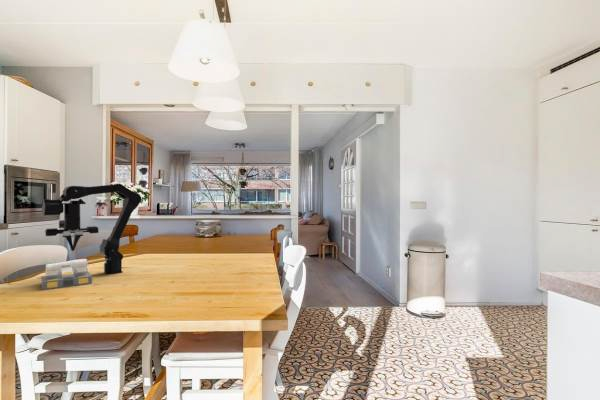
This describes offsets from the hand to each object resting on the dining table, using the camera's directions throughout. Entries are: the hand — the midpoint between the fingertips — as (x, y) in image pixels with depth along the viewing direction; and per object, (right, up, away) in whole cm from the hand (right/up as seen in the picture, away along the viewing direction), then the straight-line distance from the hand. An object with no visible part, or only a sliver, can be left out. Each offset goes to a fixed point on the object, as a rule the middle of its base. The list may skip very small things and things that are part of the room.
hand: (72, 250), depth 145 cm
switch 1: (0, -7, -13) cm, 14 cm away
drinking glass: (-13, -9, +2) cm, 16 cm away
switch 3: (+8, -7, -6) cm, 12 cm away
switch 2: (+4, -7, -9) cm, 12 cm away
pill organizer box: (+4, -12, -9) cm, 16 cm away
